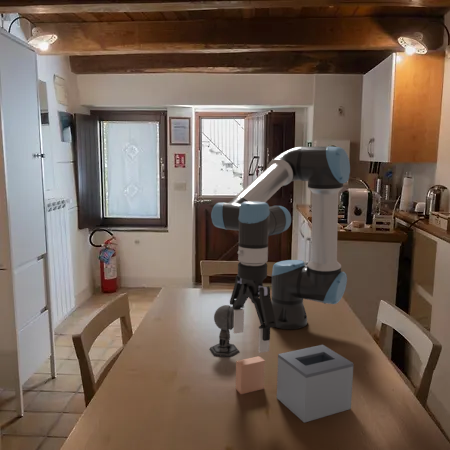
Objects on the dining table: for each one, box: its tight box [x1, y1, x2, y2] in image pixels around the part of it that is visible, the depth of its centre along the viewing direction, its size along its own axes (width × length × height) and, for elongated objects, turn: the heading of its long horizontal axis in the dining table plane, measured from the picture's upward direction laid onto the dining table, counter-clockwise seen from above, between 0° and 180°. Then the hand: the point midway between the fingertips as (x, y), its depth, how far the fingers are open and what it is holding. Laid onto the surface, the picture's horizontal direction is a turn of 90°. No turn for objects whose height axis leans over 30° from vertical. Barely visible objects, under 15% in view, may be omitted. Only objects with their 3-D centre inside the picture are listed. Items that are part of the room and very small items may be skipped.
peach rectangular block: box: [235, 355, 266, 395], centre depth 122 cm, size 7×3×8 cm, turn 116°
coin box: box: [276, 344, 354, 423], centre depth 115 cm, size 14×12×12 cm
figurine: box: [209, 304, 240, 358], centre depth 144 cm, size 9×10×15 cm
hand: (250, 341), depth 120 cm, fingers open, 13 cm apart
